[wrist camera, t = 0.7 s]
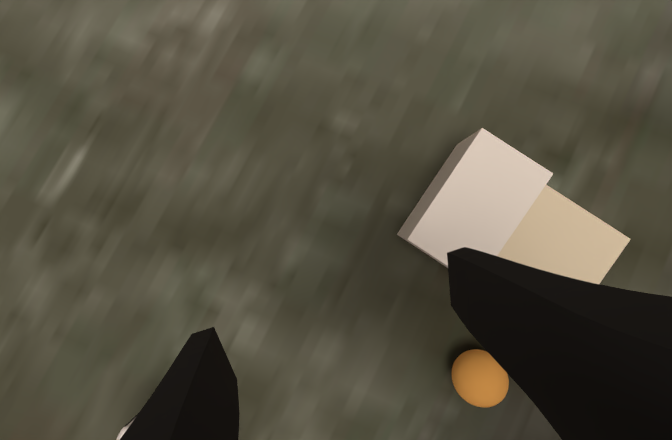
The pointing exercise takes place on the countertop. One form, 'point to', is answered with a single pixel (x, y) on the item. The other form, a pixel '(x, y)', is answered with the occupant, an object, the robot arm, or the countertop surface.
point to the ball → (479, 378)
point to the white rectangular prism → (475, 198)
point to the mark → (564, 239)
